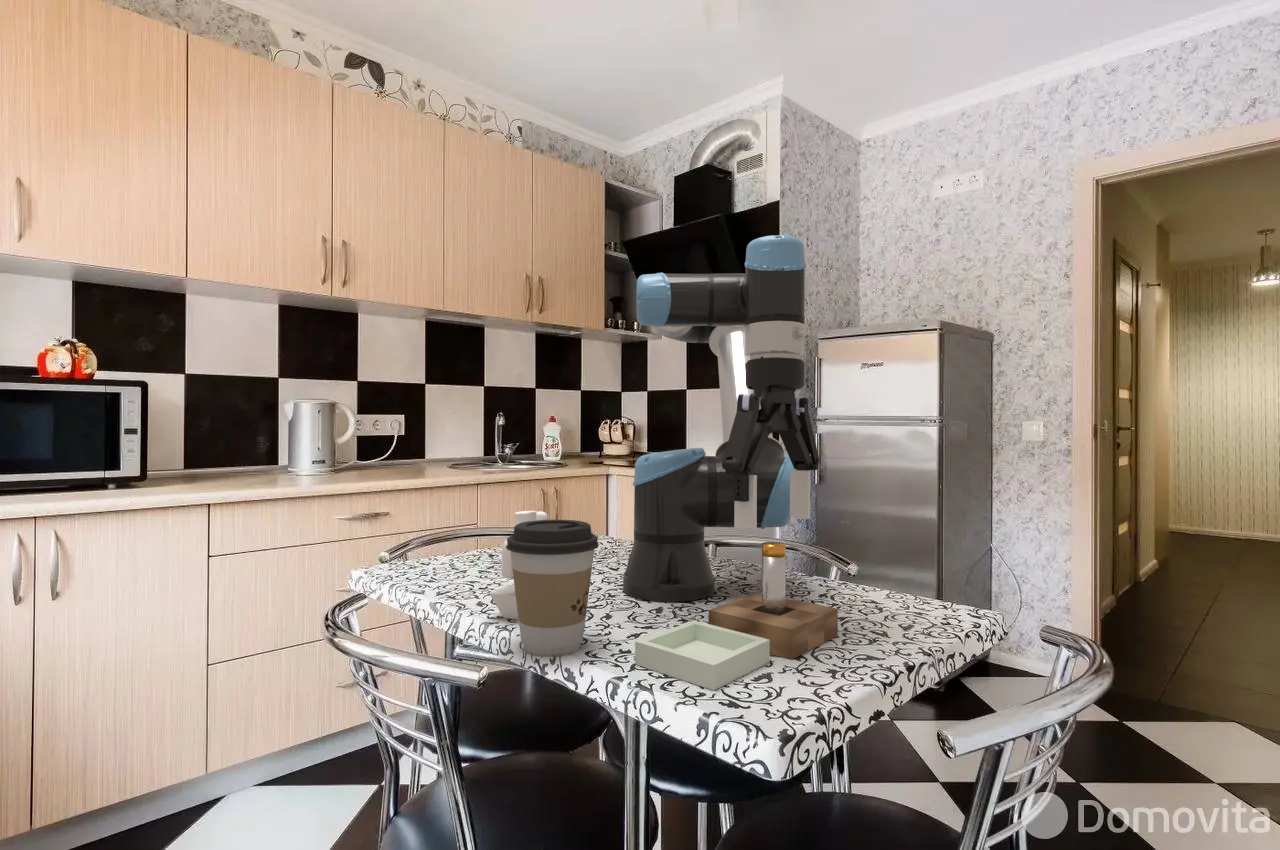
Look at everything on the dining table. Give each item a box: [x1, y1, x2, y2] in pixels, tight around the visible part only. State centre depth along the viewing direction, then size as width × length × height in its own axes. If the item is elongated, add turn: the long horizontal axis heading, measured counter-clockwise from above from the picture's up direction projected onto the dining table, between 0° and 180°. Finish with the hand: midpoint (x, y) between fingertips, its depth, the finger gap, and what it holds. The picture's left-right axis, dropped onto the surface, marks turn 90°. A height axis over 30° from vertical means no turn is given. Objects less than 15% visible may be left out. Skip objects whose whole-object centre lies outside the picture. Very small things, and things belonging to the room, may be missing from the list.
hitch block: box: [708, 592, 839, 661], centre depth 85 cm, size 12×12×4 cm
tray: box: [634, 620, 771, 691], centre depth 75 cm, size 11×11×3 cm
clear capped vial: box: [761, 541, 787, 616], centre depth 85 cm, size 3×3×12 cm
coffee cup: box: [506, 519, 599, 658], centre depth 81 cm, size 11×11×15 cm
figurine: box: [489, 510, 549, 621], centre depth 94 cm, size 7×9×15 cm
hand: (774, 523), depth 85 cm, fingers open, 13 cm apart
